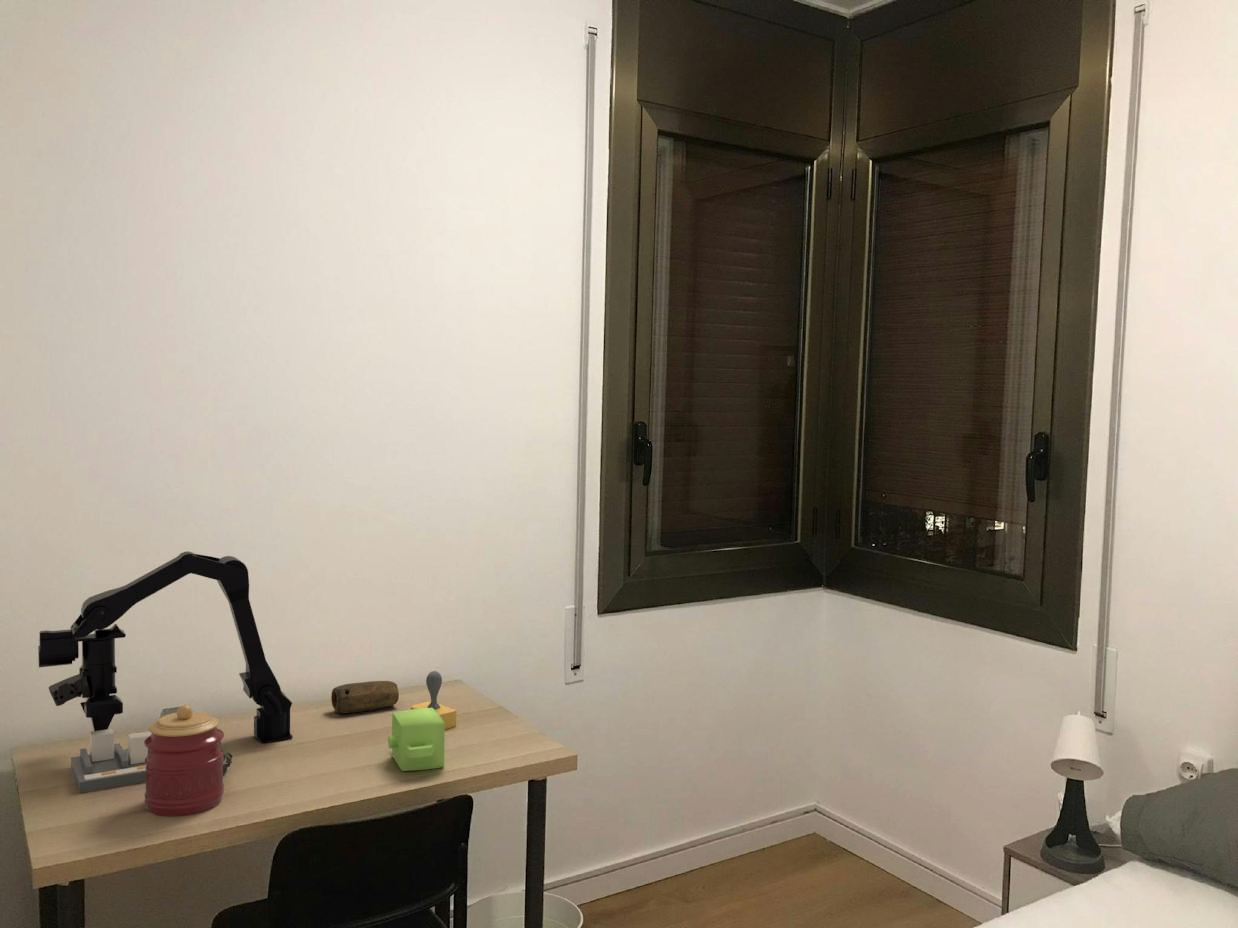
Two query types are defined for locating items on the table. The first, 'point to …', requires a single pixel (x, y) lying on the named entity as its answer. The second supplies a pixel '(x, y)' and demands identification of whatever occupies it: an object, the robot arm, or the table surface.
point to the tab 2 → (137, 747)
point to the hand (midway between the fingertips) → (99, 739)
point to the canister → (184, 763)
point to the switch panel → (106, 771)
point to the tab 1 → (101, 745)
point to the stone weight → (364, 696)
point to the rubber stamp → (434, 686)
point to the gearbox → (417, 739)
